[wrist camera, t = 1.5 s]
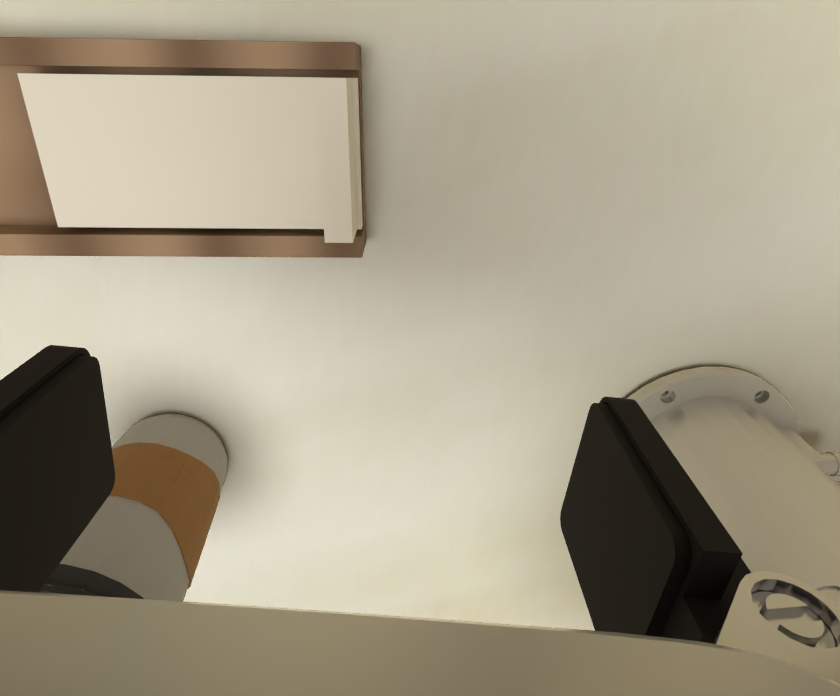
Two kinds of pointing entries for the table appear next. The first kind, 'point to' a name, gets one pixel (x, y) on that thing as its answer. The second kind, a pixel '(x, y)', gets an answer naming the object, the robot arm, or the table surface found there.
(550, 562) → the table surface
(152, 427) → the coffee cup
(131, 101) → the lid
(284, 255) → the board
